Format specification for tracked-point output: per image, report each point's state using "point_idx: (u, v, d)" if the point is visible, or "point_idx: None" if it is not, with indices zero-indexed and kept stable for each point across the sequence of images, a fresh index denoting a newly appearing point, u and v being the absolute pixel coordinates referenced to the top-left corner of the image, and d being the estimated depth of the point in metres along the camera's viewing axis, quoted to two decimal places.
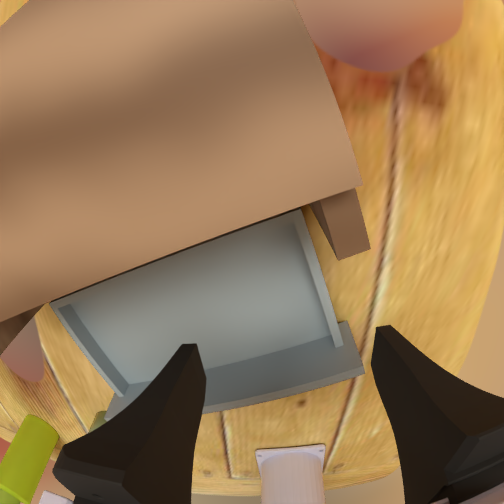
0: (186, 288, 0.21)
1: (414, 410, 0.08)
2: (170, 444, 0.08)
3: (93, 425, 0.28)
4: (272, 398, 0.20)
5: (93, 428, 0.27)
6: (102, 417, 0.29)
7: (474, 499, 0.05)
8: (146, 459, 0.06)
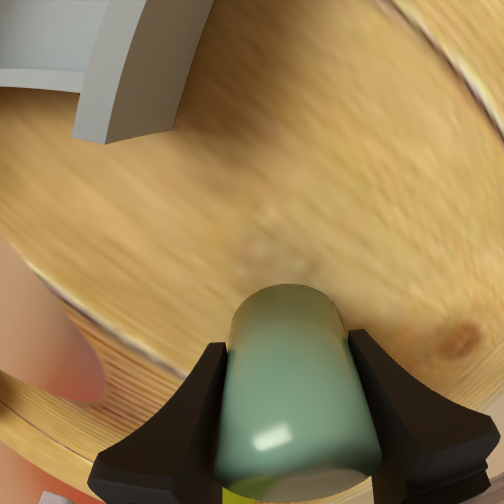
0: None
1: (380, 418, 0.08)
2: (206, 446, 0.08)
3: None
4: None
5: (226, 365, 0.11)
6: (235, 324, 0.12)
7: (474, 499, 0.05)
8: (189, 463, 0.06)
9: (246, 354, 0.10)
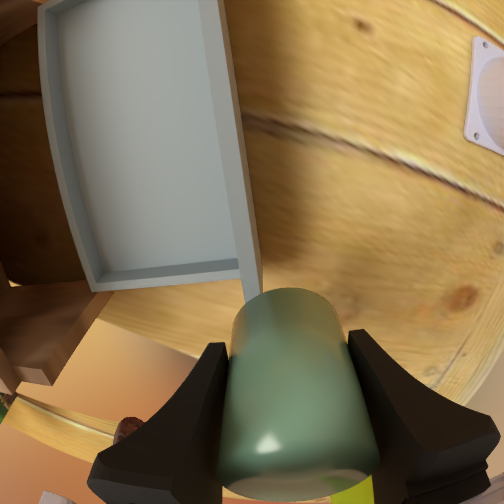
0: (99, 115, 0.16)
1: (381, 418, 0.08)
2: (206, 446, 0.08)
3: None
4: (214, 9, 0.10)
5: None
6: (235, 330, 0.13)
7: (474, 499, 0.05)
8: (188, 463, 0.06)
9: (244, 360, 0.10)
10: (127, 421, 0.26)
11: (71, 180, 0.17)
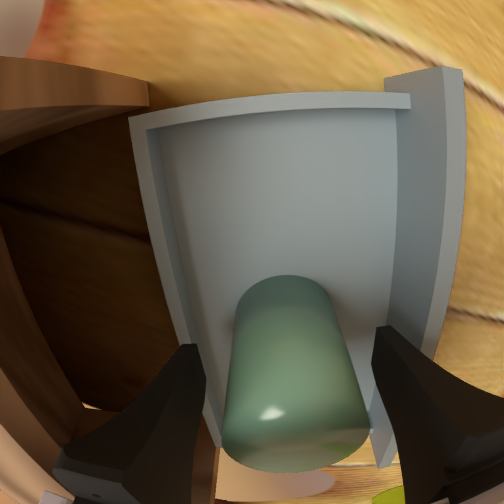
0: None
1: (414, 410, 0.08)
2: (170, 444, 0.08)
3: None
4: (452, 259, 0.09)
5: None
6: (236, 316, 0.14)
7: (474, 499, 0.05)
8: (146, 459, 0.06)
9: (244, 338, 0.11)
10: None
11: None
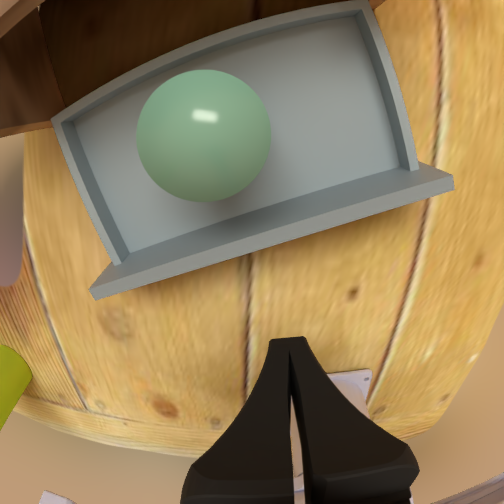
0: None
1: (302, 429, 0.08)
2: None
3: None
4: (345, 219, 0.15)
5: None
6: None
7: (474, 499, 0.05)
8: None
9: None
10: None
11: (159, 70, 0.15)
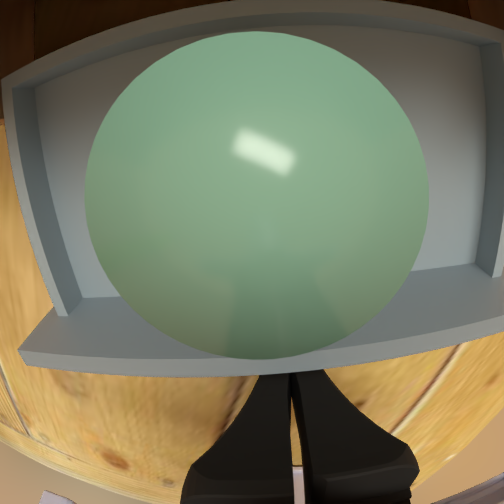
0: None
1: (302, 429, 0.08)
2: None
3: None
4: (416, 349, 0.09)
5: None
6: None
7: (474, 499, 0.05)
8: None
9: None
10: None
11: (180, 32, 0.08)
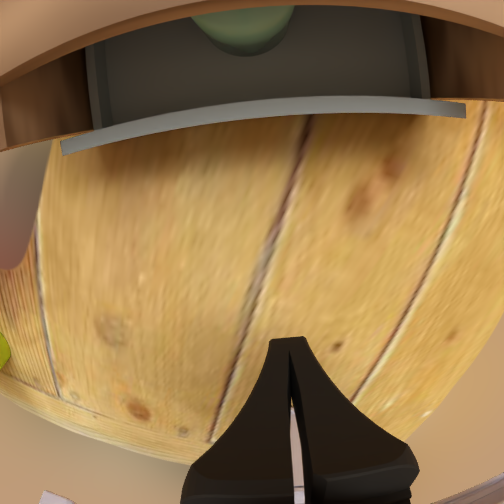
0: None
1: (302, 429, 0.08)
2: None
3: None
4: (355, 108, 0.13)
5: None
6: None
7: (474, 499, 0.05)
8: None
9: None
10: None
11: None
